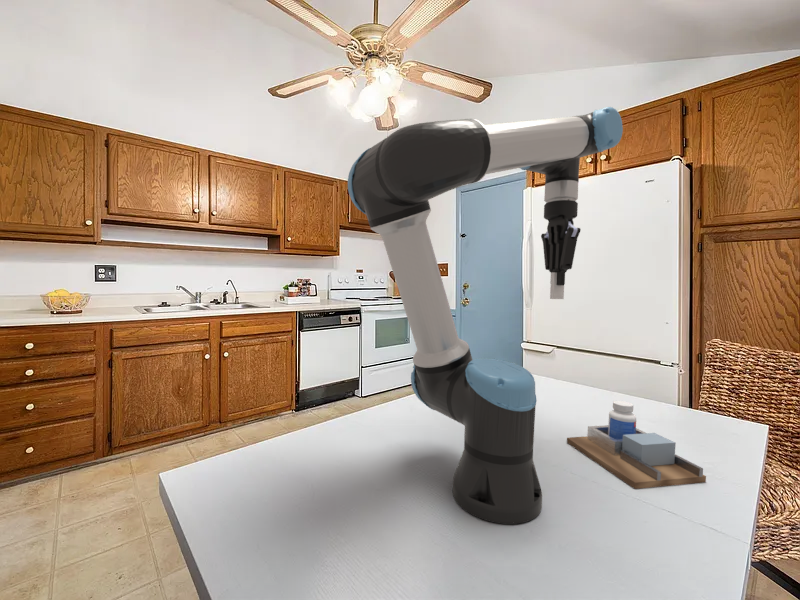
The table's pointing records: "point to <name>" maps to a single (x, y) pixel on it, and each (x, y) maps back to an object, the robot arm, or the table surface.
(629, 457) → the rails
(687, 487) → the table surface
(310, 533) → the table surface
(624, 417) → the pill bottle
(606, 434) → the socket
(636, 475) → the board
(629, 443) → the block
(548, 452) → the table surface
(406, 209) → the robot arm
